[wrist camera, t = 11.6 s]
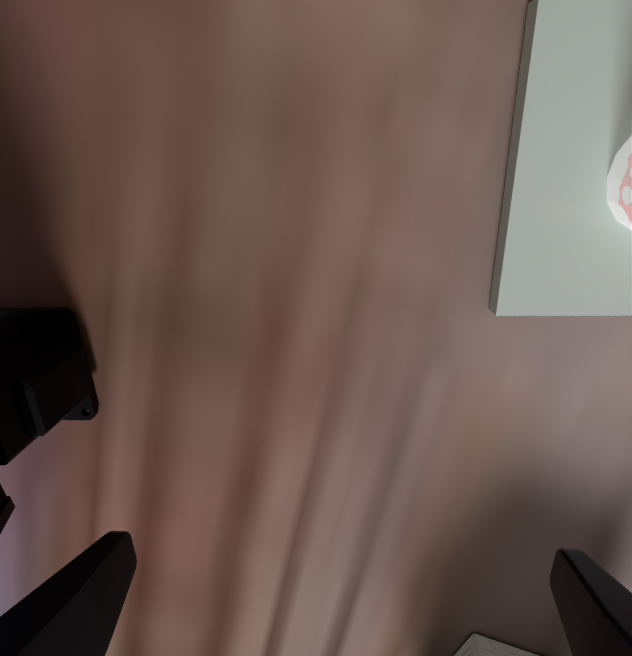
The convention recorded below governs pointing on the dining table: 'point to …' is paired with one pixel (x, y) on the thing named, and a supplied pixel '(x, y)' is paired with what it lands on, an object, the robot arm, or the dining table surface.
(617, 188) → the beverage cup
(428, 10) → the dining table surface
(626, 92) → the ceramic coaster
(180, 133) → the dining table surface
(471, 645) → the supplement box
